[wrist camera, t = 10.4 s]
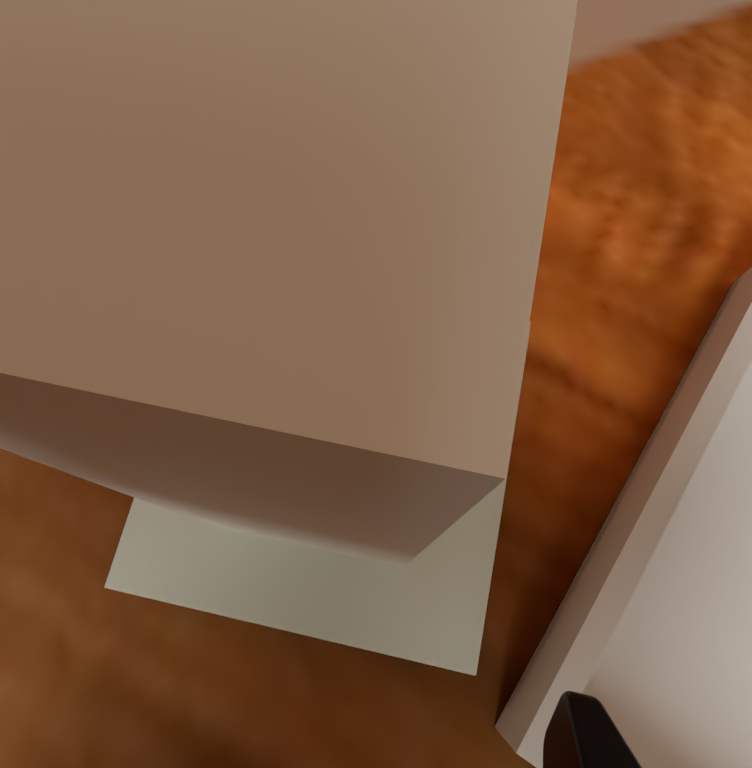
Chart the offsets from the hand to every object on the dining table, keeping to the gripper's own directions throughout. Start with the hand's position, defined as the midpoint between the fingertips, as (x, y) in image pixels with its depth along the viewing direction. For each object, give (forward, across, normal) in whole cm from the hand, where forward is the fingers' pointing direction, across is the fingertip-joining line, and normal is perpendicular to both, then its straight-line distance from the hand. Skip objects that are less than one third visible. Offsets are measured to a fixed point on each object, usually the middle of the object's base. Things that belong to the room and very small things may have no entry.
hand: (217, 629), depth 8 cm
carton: (+8, 0, +2) cm, 8 cm away
